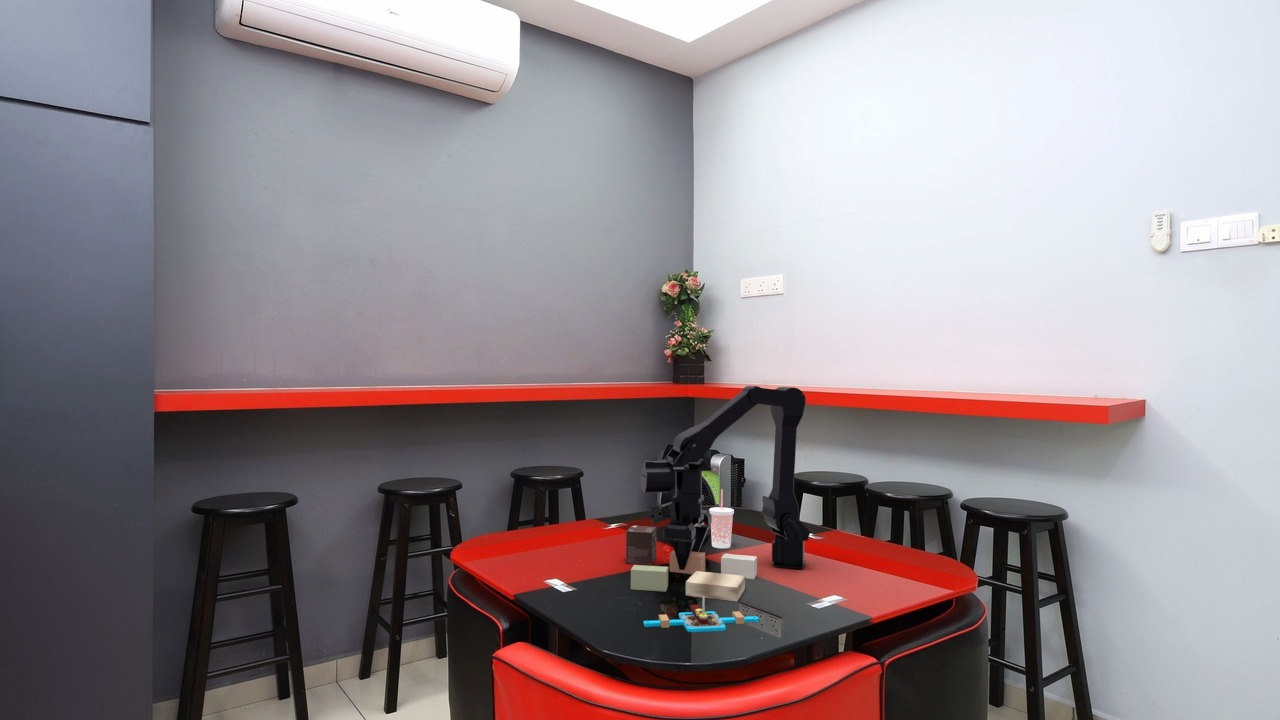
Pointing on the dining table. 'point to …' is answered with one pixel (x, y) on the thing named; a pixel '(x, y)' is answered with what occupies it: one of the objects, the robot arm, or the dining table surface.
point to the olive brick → (649, 578)
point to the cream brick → (739, 565)
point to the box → (641, 545)
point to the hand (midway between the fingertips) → (687, 564)
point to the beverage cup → (721, 525)
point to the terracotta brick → (689, 563)
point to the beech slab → (715, 586)
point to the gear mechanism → (701, 620)
